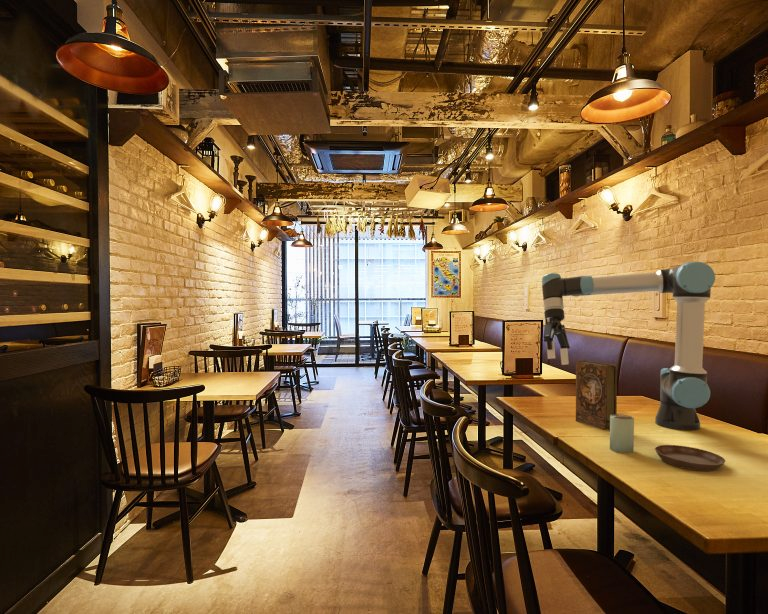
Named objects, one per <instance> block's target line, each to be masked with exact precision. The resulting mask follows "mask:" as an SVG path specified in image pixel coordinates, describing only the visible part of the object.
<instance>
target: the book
mask: <svg viewBox="0 0 768 614" xmlns="http://www.w3.org/2000/svg"><path fill="white" fill-rule="evenodd" d="M617 369H618V368H617V365H616V364H610V363H603V362H598V361H597V362H595V361H589V360H576V361H575V421H576V422H578V423H581V424H584V425H588V426H591V427H594V428H598V429H601V430H607V429H610V415H613V414H618V411H617V409H618V408H617V406H618V405H617V404H618V403H617V400H618V398H617V397H618V396H617V393H618V390H617V389H618V387H617V384H618V382H617V380H618V379H617V377H618V376H617Z"/></svg>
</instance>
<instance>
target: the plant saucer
mask: <svg viewBox="0 0 768 614" xmlns="http://www.w3.org/2000/svg"><path fill="white" fill-rule="evenodd" d="M654 450H655V452H656V453H657V454H656V455H658V456H659V458H660V459H661V460H662V461H663V462H664V463H667V464H669V465H671V466H673V467H674V466H675V467H677V468H681V469H686V470H690V469H691V471H698V472H699V471H700V472H712V471H716V470H718V469H719V468H720V467H723V465H724V464H725V463H726V459H725V458H724V457H723V456H722V455H719V454H717V453H715V452H712V451H709V450H705V449H701V448H697V447H690V446H687V445H686V446H685V445H676V444H662V445H657V446H655V447H654Z"/></svg>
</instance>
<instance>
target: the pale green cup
mask: <svg viewBox="0 0 768 614" xmlns="http://www.w3.org/2000/svg"><path fill="white" fill-rule="evenodd" d="M609 450H610V451H612V452H615V453H620V454H633V453H635V418H634V417H633V416H631V415H627V414H622V413H621V414H620V413H617V414H613V415H610V428H609Z"/></svg>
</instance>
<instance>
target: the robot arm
mask: <svg viewBox="0 0 768 614" xmlns="http://www.w3.org/2000/svg"><path fill="white" fill-rule="evenodd" d="M715 281H716V273H715V271H714V269H713V268H712V266H710V265H709V264H707V263H705V262H702V261H688V262H685V263H683V264H681V265H680V264H679V265H678V266H675V267H671V268H666V269H658V270H657V271H656V272H650V273H649V272H647V273H634V274H624V275H623V274H622V275H609V276H599V277H597V276H596V277H595V276H594V277H593V276H592V275H582V276H571V277H565V278H564V277H561V274H559V273H558V272H557V273H555V272H550V273H547V274H544V275H543V276H542V278H541V291H542V297H543V304H542V307H543V310H544V321H545V323H544V330H543V335H542V336H543V342H544V343H546V352H547V353H546V355H547V360H551V359H556V351H555V350H556V348H555V341H554V337H555V336H556V339H557V341H558V344H559V346H560V350H559V353H560V361H561V362H560V363H561V364H560V365H562V366H565V365H569V364H570V361H569V353H568V352H569V351H568V350H569V349H571V346H570V344H569V341H568V340H569V339H568V336H567V333H566V327H565V324H562V321H563V320H565V317H566V316H565V310H564V308H565V306H564V298H563V297H568V296H569V297H570V296H571V297H580V296H581V297H582V296H584V297H585V296H596V295H597V296H598V295H612V294H627V293H628V294H629V293H631V294H632V293H645V292H658V293H659V294H672V298H673V300H674V301H675V302H676V322H675V323H676V325H675V326H676V327H675V344H674V345H675V347H674V348H675V349H674V365H673V366H671V367H670V368H668V367H666V368H665V367H663V368H661V369H660V374H659V377H660V380H659V381H660V386H659V387H660V388H659V389H660V391H659V392H660V393H659V394H660V395H659V397H660V401H659V402H660V405H659V407H658V410H657V413H656V415H655V424H656V425H658V426H661V427H665V428H668V429H673V430H683V431H696V430H700V429H701V422H700V418H699V415H698V413H697V410H696V409H698V408H701V407H703V406H705V404H707V403H708V401H709V400H710V397H711V389H710V387H709V385H708V372H707V370H705V369H704V367H703V361H704V360H703V357H704V356H703V355H704V354H703V353H704V335H705V334H704V333H705V332H704V331H705V308H706V303H707V302H708V301H709V300H710V299H711V291H712V289H711V288H712V287H713V286H714V284H715Z"/></svg>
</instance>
